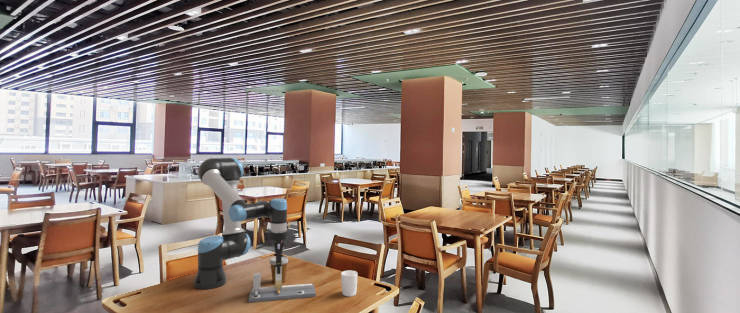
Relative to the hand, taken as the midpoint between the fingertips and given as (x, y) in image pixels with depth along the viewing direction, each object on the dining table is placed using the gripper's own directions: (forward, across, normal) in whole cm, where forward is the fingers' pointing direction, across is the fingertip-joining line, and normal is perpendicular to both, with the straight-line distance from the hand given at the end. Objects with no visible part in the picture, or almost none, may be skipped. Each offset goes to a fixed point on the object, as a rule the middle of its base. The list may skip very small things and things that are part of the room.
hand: (278, 275), depth 172 cm
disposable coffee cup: (+9, +16, 0) cm, 18 cm away
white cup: (+9, -8, -33) cm, 35 cm away
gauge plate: (+8, -2, -2) cm, 9 cm away
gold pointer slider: (+6, -2, 0) cm, 7 cm away
